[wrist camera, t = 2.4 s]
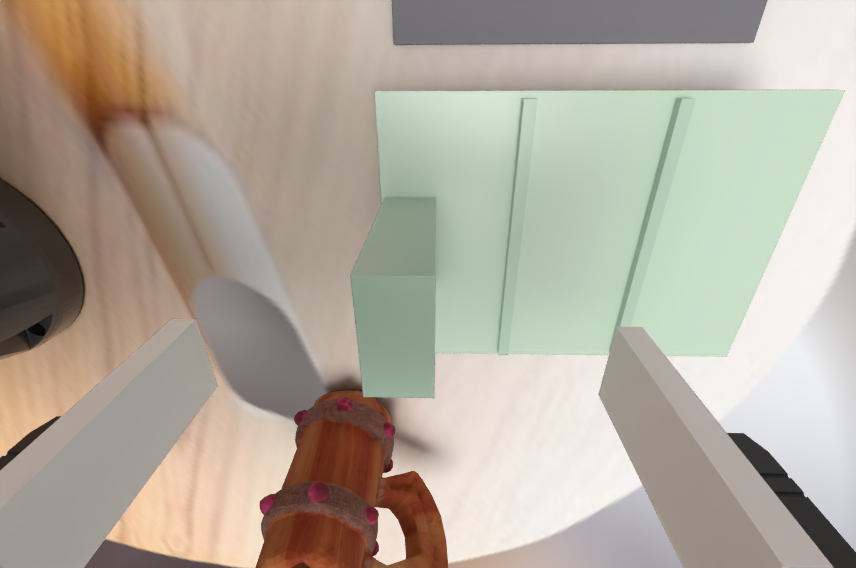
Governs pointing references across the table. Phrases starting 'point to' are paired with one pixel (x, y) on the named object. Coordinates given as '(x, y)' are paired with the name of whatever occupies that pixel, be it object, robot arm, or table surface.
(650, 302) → the lid
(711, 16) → the mat
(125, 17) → the table surface
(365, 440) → the mug
